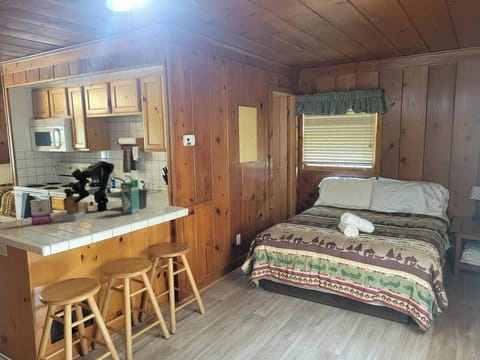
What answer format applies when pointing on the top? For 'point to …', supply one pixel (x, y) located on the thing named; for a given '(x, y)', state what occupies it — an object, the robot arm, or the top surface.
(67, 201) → the walnut block
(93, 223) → the top surface
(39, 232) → the top surface
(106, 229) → the top surface
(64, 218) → the base block
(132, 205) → the milk carton
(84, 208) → the birch block
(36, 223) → the candy bar box
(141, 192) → the storage bin
